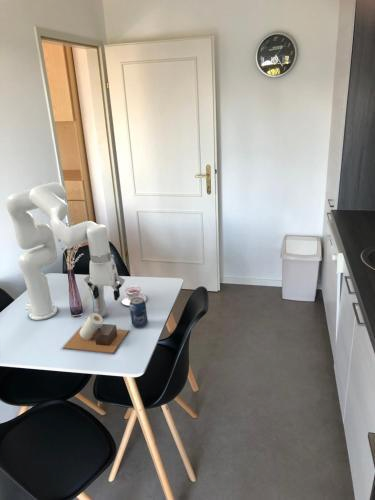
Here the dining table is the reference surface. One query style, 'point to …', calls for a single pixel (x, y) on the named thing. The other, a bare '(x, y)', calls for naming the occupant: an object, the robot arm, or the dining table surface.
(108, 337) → the walnut block
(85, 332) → the paper roll
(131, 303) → the soda can
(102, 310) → the plastic bottle
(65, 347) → the cork mat
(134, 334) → the dining table surface
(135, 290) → the teacup
